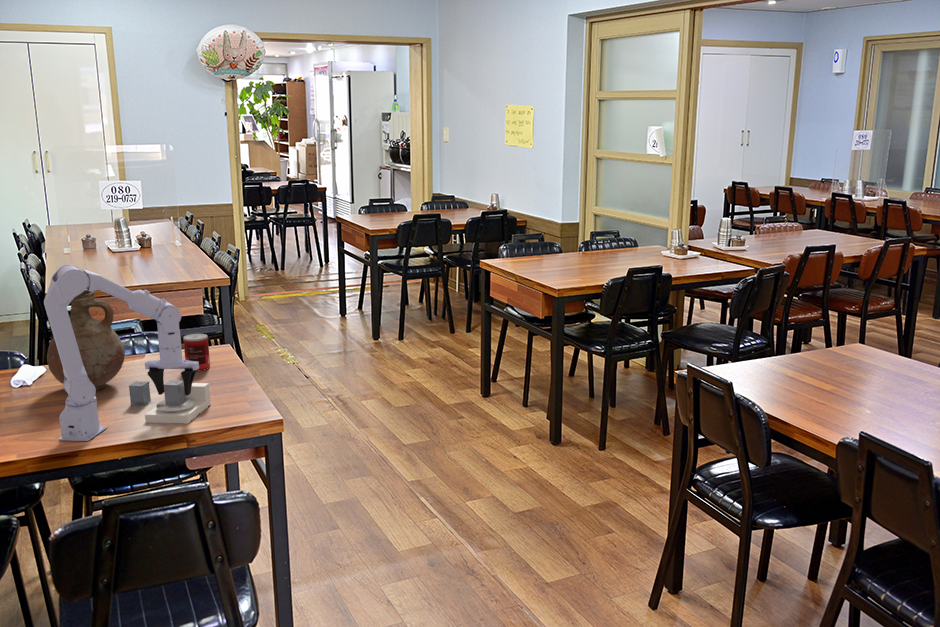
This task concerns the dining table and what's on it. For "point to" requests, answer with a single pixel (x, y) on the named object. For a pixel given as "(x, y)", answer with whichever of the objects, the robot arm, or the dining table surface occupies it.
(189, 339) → the canned food
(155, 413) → the scale
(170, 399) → the block
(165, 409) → the pan
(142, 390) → the block
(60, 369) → the jug
